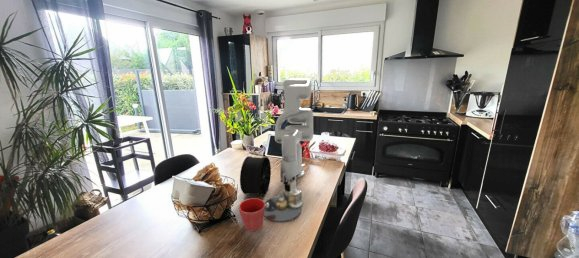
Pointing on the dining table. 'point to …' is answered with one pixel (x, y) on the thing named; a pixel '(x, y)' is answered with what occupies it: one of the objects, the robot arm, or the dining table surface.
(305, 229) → the dining table surface
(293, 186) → the open ended square duct
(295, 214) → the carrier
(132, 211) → the dining table surface
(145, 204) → the dining table surface
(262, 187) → the car wheel rim
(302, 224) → the dining table surface
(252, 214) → the flower pot
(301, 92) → the robot arm
